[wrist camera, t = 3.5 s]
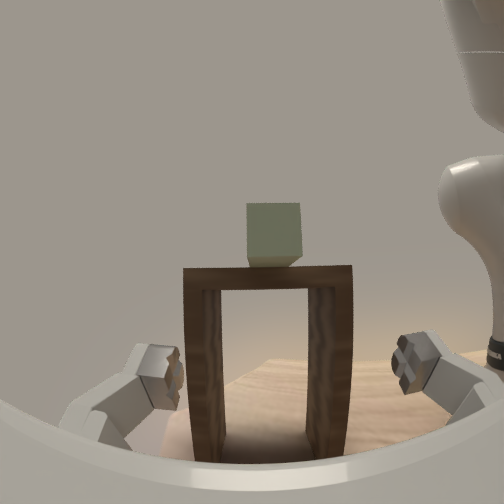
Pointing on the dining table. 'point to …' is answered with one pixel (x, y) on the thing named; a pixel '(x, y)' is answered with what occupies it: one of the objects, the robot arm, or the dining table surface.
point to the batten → (273, 234)
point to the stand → (319, 350)
